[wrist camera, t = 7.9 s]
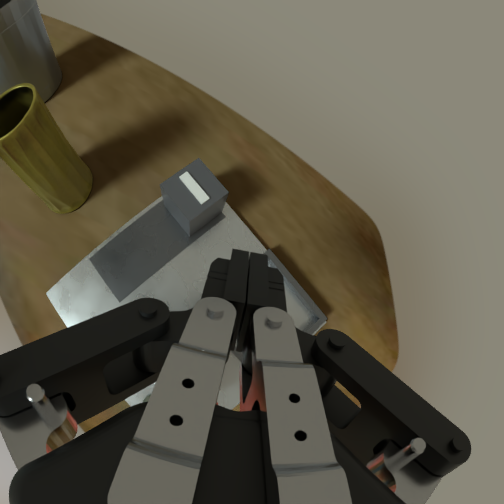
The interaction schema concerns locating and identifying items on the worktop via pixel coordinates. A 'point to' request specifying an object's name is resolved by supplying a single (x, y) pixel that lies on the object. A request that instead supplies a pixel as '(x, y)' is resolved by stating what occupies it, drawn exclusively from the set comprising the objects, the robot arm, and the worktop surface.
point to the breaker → (193, 196)
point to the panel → (169, 277)
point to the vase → (41, 150)
